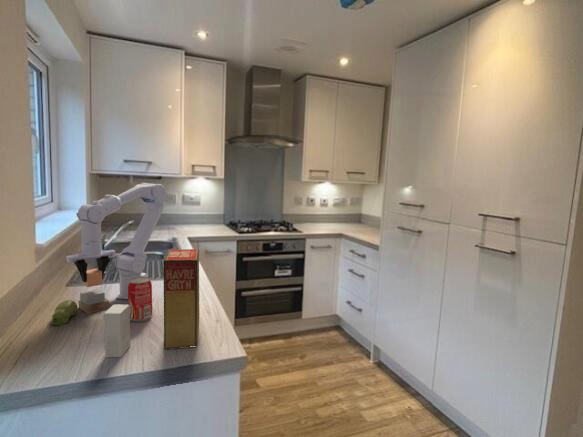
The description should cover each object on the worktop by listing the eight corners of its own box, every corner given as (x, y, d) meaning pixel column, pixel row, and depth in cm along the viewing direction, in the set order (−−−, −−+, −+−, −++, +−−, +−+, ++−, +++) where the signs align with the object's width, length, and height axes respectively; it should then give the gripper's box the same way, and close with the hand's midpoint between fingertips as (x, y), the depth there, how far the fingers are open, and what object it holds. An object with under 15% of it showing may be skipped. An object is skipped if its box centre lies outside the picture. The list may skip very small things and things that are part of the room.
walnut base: (100, 303, 123) (100, 295, 122) (109, 309, 118) (109, 300, 118) (78, 308, 117) (78, 300, 117) (87, 314, 113) (86, 306, 113)
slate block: (97, 296, 121) (97, 288, 120) (104, 301, 118) (104, 292, 117) (80, 301, 116) (80, 292, 116) (87, 305, 113) (87, 296, 113)
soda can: (156, 315, 114) (156, 278, 112) (140, 324, 107) (140, 284, 105) (139, 312, 116) (139, 274, 114) (123, 320, 109) (122, 280, 108)
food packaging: (168, 327, 106) (168, 248, 103) (199, 326, 108) (201, 248, 105) (162, 349, 93) (162, 260, 90) (198, 347, 95) (199, 259, 92)
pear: (79, 297, 112) (65, 314, 103) (81, 311, 114) (67, 329, 104) (60, 297, 111) (44, 314, 102) (62, 311, 113) (47, 330, 103)
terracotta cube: (96, 281, 120) (96, 268, 119) (102, 284, 117) (101, 271, 117) (82, 284, 116) (82, 271, 116) (87, 287, 114) (87, 274, 113)
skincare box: (114, 345, 94) (113, 303, 92) (130, 345, 94) (130, 304, 93) (104, 357, 88) (103, 313, 86) (121, 357, 88) (120, 313, 87)
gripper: (108, 236, 123) (109, 273, 124) (62, 241, 111) (63, 281, 113) (118, 239, 118) (118, 277, 120) (70, 244, 107) (72, 286, 109)
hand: (92, 279), depth 116 cm, fingers closed on terracotta cube, 4 cm apart
